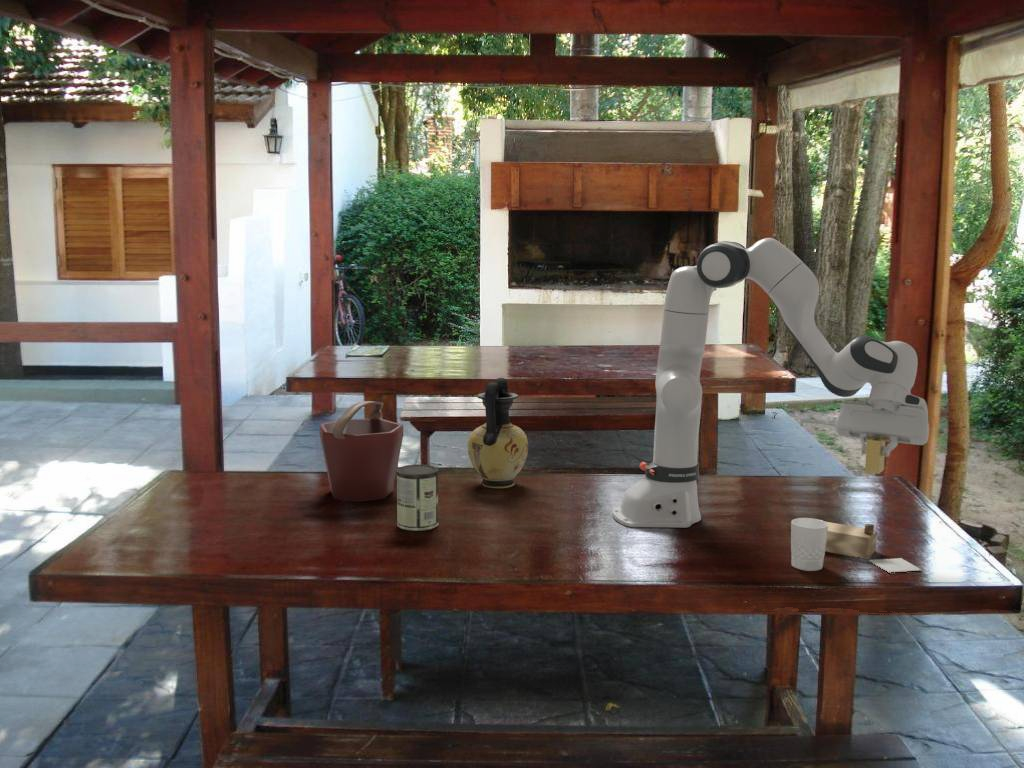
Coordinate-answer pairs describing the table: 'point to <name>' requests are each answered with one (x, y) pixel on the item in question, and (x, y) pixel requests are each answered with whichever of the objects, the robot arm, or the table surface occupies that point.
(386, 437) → the bucket
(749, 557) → the table surface
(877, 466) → the brass knob block
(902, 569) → the mat
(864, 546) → the body
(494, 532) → the table surface
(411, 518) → the coffee can
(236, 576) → the table surface
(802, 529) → the white cup
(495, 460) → the amphora
